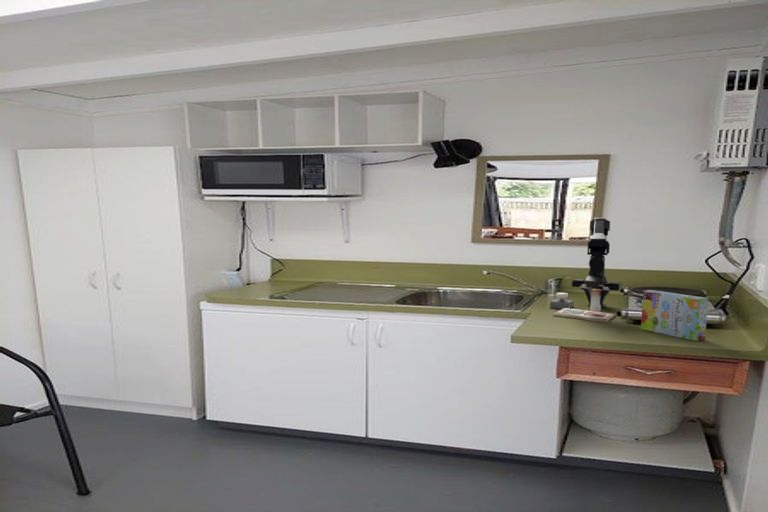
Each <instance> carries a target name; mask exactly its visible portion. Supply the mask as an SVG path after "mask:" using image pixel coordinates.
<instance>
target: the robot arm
mask: <svg viewBox="0 0 768 512" xmlns="http://www.w3.org/2000/svg"><path fill="white" fill-rule="evenodd" d="M610 226H611V221H610V220H608V219H607V218H605V217H594V218H593V219H592V220H590V221H589V231H591V236H589V237H590V238H589V240H587V254H586V255H589V256H590V257H589V260H588V261H589V262H588V266H589V271H588V275H587V276H586V278H585V279H582V278H575V279H573V280H572V281H571V287H572V288H580V290H583V292H584V293H585V294H586V299H587V300H588V305H587V306H588V307H590V304H591V289H601V301H600V306H601V308H604V307H606V304H604V303H605V300H606V297H607V296H608V294H609V293H610V292H612V291H617V292H619V291H621V290H622V289H623V284H622V283H621V282H619V281H611V282H609V281H608V280H607V276H606V274H605V273H606V270H605V267H606V257H605V256H608V254H610V243H609V241H608V240H607V237H608V235H609V232H610V231H611V227H610Z"/></svg>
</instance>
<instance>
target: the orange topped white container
mask: <svg viewBox="0 0 768 512" xmlns="http://www.w3.org/2000/svg"><path fill="white" fill-rule="evenodd" d="M600 301H601V289H591V304H590V306H589V307H590V310H589V311H593V312H602V311H601V306H600Z"/></svg>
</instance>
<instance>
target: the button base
mask: <svg viewBox="0 0 768 512" xmlns="http://www.w3.org/2000/svg"><path fill="white" fill-rule="evenodd" d="M574 302H575V300H569V299H564V302H561V301H560V299H559V298H555V299H553V300H550V305H549V307H552V308H551V309H556V308H559V309H558V310H562V309H564V308H571V309H573V308H574ZM572 307H573V308H572Z"/></svg>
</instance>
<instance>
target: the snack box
mask: <svg viewBox="0 0 768 512" xmlns="http://www.w3.org/2000/svg"><path fill="white" fill-rule="evenodd" d="M642 294H643V300H642V312H641V321H640V323H641V324H640V329H641V330H643V331H649V332H653V333H657V334H662V335H665V336H671V337H675V338H679V339H680V338H681V339H684V340H687V341H688V340H689V341H693V342H700V341H701V340H702V341H705V340H706V332H707V331H706V330H707V317H708V316H707V315H708V303H709V301H708V300H709V297H703V296H697V295H696V296H695V295H689V294H681V293H675V292H668V291H660V290H653V289H648V290H643V291H642Z"/></svg>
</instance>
